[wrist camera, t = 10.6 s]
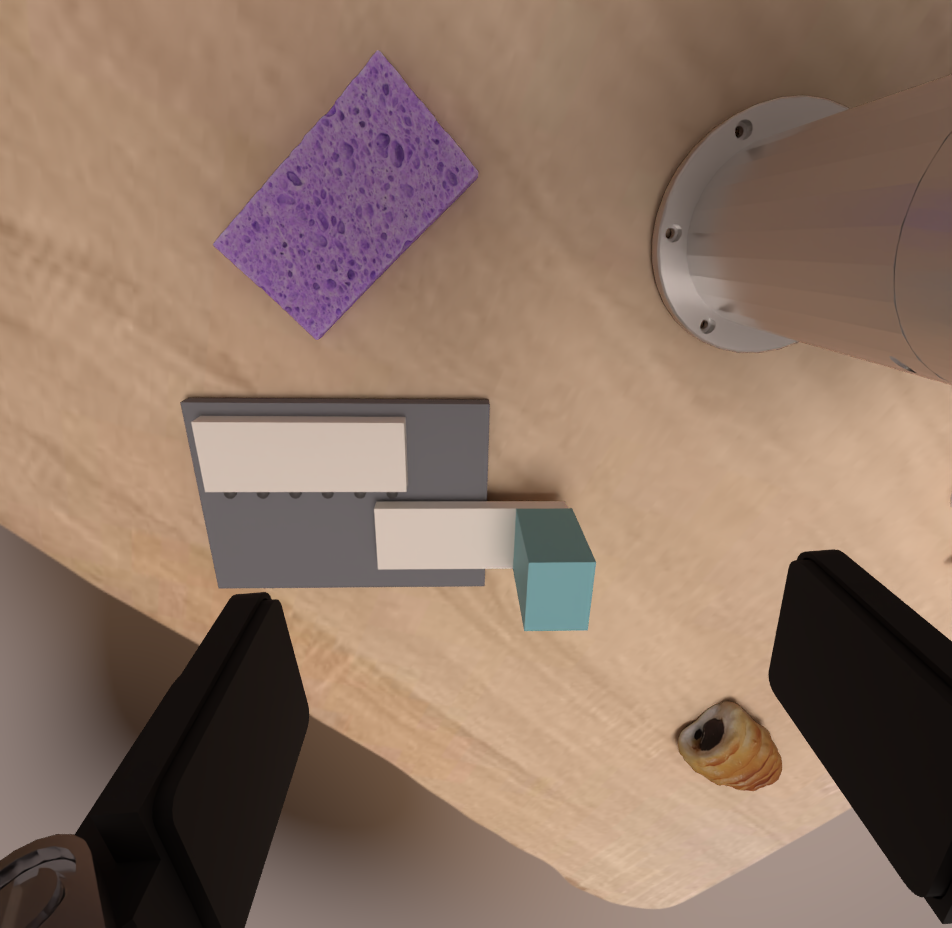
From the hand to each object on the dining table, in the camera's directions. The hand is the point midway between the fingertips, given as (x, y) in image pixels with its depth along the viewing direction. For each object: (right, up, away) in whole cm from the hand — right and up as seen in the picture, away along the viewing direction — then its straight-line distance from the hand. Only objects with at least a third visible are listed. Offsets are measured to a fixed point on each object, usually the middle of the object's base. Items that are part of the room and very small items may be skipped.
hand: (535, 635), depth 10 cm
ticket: (-11, +4, +22) cm, 25 cm away
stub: (-1, -1, +25) cm, 25 cm away
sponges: (-8, +17, +19) cm, 27 cm away
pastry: (+20, -20, +35) cm, 45 cm away
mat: (-9, +1, +25) cm, 26 cm away
